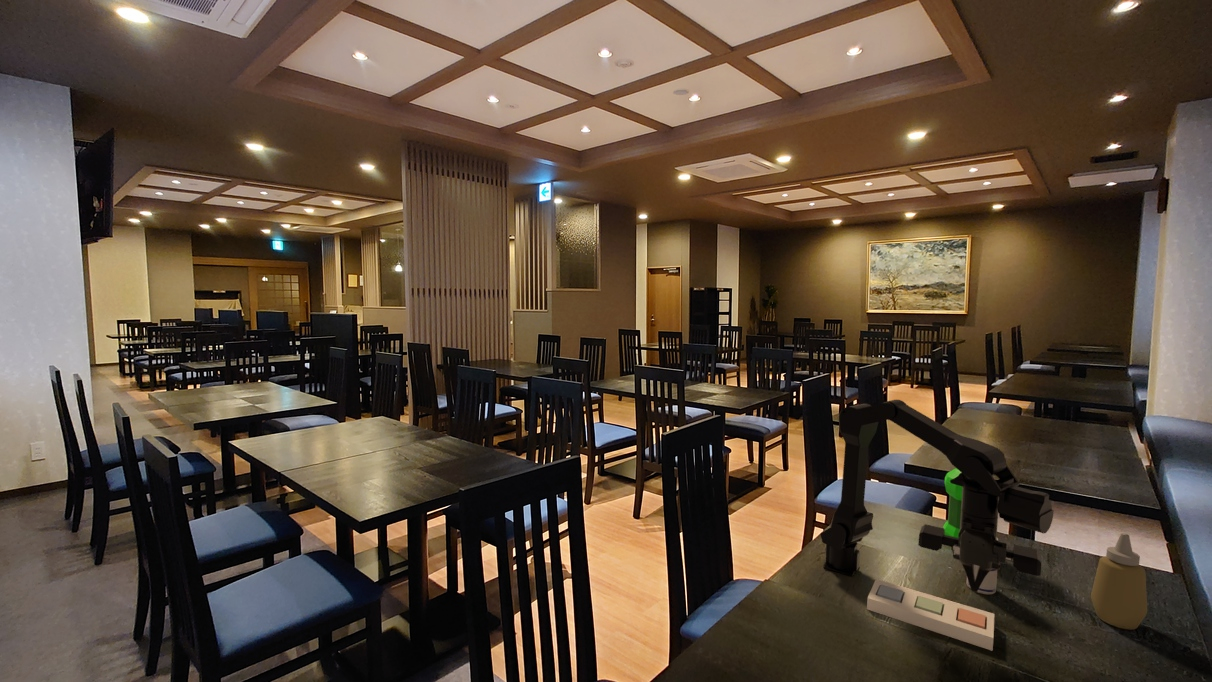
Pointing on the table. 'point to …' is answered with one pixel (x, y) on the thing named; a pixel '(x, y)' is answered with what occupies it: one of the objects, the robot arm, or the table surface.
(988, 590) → the energy drink
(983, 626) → the terracotta button
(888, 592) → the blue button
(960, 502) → the plastic bottle
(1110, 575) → the squeeze bottle
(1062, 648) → the table surface
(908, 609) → the button panel
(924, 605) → the green button
